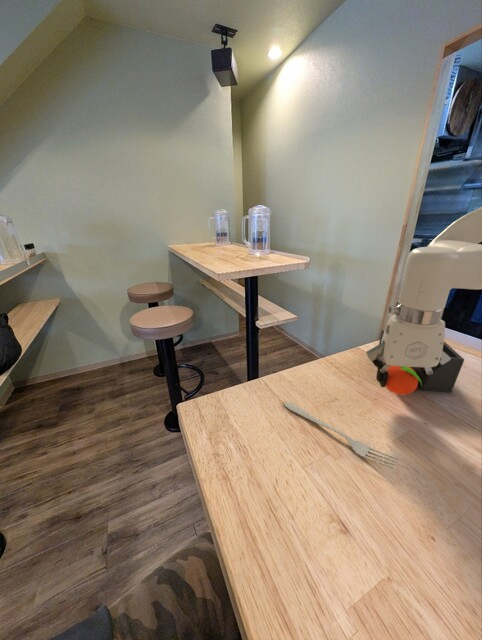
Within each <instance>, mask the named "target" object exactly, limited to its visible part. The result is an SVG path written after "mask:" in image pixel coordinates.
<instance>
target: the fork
mask: <svg viewBox="0 0 482 640" xmlns="http://www.w3.org/2000/svg"><path fill="white" fill-rule="evenodd" d="M283 405H284V406H285V408H286V409H288V410H289V411H291V412H293V413H295V414H297V415H299V416H301V417H302V418H305V419H306V420H309V421H311V422H314V423H316V424H318V425H320V426H322V427H324V428H326V429H329V430H331V431H333V432H335V433H336V434H339V436H342V437H343V438H344V439H345V440H346V441H347V442H348V444H349V445H350V447H351V449H352V451H354V453H355V454H357V455H358V456H359V457H362V458H363V459H366V460H368V461H371V462H374V463H376V464H379V465H382V466H385V467H387V468H391V469H395V467H394V466H397V465H396V464H397V463H398V461H399V458H397V457H394V456H392V455H389V454H387V453H384V452H382V451H379V450H377V449H375V448H374V447H371V446H370V445H368V444H366V443H363V442H360V441H358V440H356V439H353V438H351V437H350V436H348V435H347V434H345V433H344V432H342V431H340V430H339V429H337V428H335V427H333V426H331V425H329V424H328V423H326V422H324V421H322V420H321V419H320V418H317V417H316V416H313V415H312V414H310V413H308V412H307V411H305V410H304V409H302V408H301V407H299V406H297V405H295V404H294V403H292V402H288V401H287V402H284V404H283Z"/></svg>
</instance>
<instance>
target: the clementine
mask: <svg viewBox="0 0 482 640" xmlns="http://www.w3.org/2000/svg"><path fill="white" fill-rule="evenodd" d="M387 372H388V378H387V382H386V387H385V388H386V389H387V390H388V391H389V392H391V393H393V394H396V395H399V396H400V395H402V396H404V395H405V396H406V395H410V394H411V393H413V392H415V391H416V390H415V389H416V388H417V386H418V380H419V381H420V383H421V380H420V378H419V376H418V375H417V374H416V372H415V371H414V370H413V369H412V368H411V367H404V366H391V367H390V368H389V369H388V370H387ZM421 386H422V383H421Z"/></svg>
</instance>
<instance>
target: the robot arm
mask: <svg viewBox="0 0 482 640" xmlns="http://www.w3.org/2000/svg"><path fill="white" fill-rule="evenodd" d="M481 243H482V206H480V207H478V208H476V209H474V210H473V211H470V212H468V213H467V214H465V215H462V216H461V217H460V218H458V219H456V220H455V221H453V222H452V223H451V224H450V225H448V226H447V227H445V229H443V231H442V232H441V233H439V234H438V235H437V236H436V237H434V238H433V239H432V240H431V241H430V242H429V244H427V246H421V247H416V248H413V249H412V250H411V251H410V252H409V253H408V255H407V259H406V263H405V267H404V272H403V277H402V280H401V285H400V291H399V294H398V300H397V301H396V302H395V303H396V304H395V305H394V306H389V307H388V313H389V314H392V315H391V316H390V318H389V320H388V322H387V324H386V326H385V329H384V330H385V331H384V334H383V337H382V341H381V344H379V343H378V344H377V345H376V346H373V347H371V349H368V350H367V351H366V352H365V354H366V356H367V358H368V359H369V360H370V361H371V362H372V363H373V365H374V367H376V368H377V372H376V375H375V376H376V377H375V378H376V381H377V382H378V383H379V385H380V387H381V388H386V382H387V378H388V372H387V370H388V369H389V368H390V367H391V366H404V367H418V368H417V369H416V374H417V375H418V376H419V378H420V380H421V383H422V386H421V383H420V381H419V380H418V386H417V387H418V389H420V390H419V391H424V390H423V388H424V385H425V384H426V382H427V379H428V376H429V375H431V374H433V371H435V370H436V369H438V368H440V367H441V366H442V364H445V363H446V362H448V361H450V360H451V358H450V357H449V356H448V355H447V354H446V353H445V352H444V351H443V350H442V349H443V344H444V342H445V336H446V322H445V320H443V319H442V317H443V314H444V311H445V307H446V305H447V301H448V297H449V295H450V291H451V290H452V289H464V290H482V244H481ZM378 354H382V355H383V356H382V357H381V358H380V360H379V359H378V358H377V357H376V355H378Z"/></svg>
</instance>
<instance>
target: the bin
mask: <svg viewBox="0 0 482 640" xmlns="http://www.w3.org/2000/svg"><path fill="white" fill-rule="evenodd" d="M384 331H385V329H382V330H381V333H380V338H379V342H378V345H379V344H381V341H382V337H383V334H384ZM442 350H443V351H444V352H445V353H446V354H447V355H448V356H449V357H450V358H451V360H450V361H448V362H446V363H445V364H442V366H441V367H440V368H438V369H436V370H435V371H433V374H431V375H429V376H428V379H427V382H426V384H425V385H424V388H423V390H422V391H426V392H438V393H439V392H440V393H452V392H453V390H454V387H455V385H456V382H457V380H458V377H459V375H460V373H461V370H462V368H463V364H464V362H465V358H464V357H463V356H461V355H460V354H459V353H458V352H457V351H456V350H455V349H454V348H452V347H451V346H450V345H449V344H448V343H447V342H445V341H444V344H443V349H442ZM382 356H383V355H382V354H378V355H376V357H377V358H378V359H379V360H380V358H381V357H382ZM411 368H412V369H413V370H414V371H415V372H416V369H417V368H418V367H411ZM414 391H421V390H420V389H418V387H417V388H416V389H415V390H414Z"/></svg>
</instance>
